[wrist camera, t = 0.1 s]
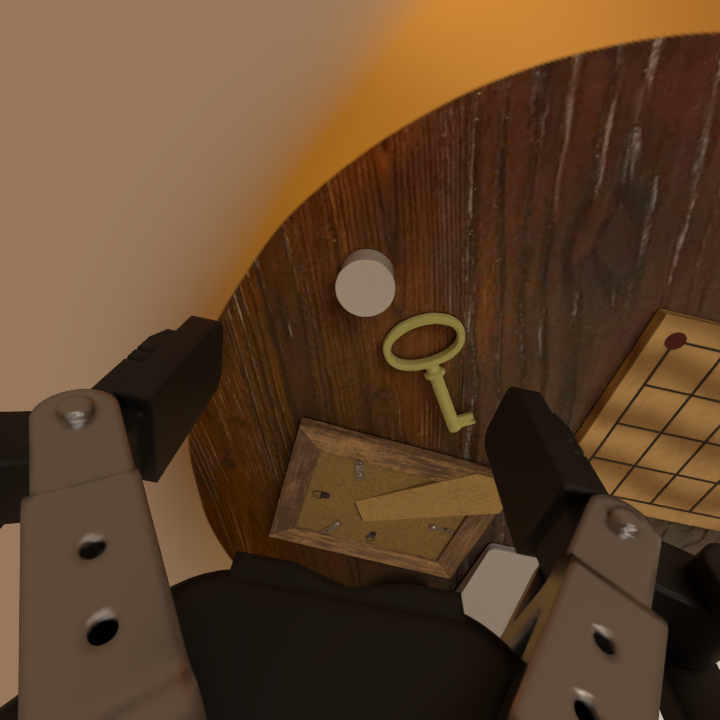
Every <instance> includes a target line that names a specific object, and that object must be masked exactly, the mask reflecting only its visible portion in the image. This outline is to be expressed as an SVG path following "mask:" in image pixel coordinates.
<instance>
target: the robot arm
mask: <svg viewBox="0 0 720 720" xmlns="http://www.w3.org/2000/svg"><path fill="white" fill-rule="evenodd" d="M222 345H223V325H222V323H221V322H219V321H215V320H210V319H205V318H201V317H197V316H191V317H190V318H189V319H188V320H187V321H185V322H184V323H183V324H182V325H181V326H180V327H179V328H178V329H177V330H176V331H174V330H170V329H167V330H164V331H162V332H159V333H157V334H154V335H152V336H150V337H148V338H147V339H146V340H145V341H144V342H143V343H142V344H141V345H139V346H138V348H137V350H134V351H133V352H132V353H131V354H130V355H128V357H127V359H124V360H123V361H122V362H121V363H120V364H118V365H117V366H116V367H115V368H114V369H113V370H112V371H110V372H109V373H108V374H107V375H106V376H105V377H104V378H102V379H101V380H100V381H99V382H98V383H97V384H96V385H95V386H94V387H92V388H91V389H77V390H71V391H66V392H62V393H59V394H56V395H53V396H51V397H49V398H47V399H45V400H43V401H42V402H41V403H39V404H38V405H37V406H36V407H35V408H34V409H33V410H32V411H24V412H22V411H21V412H0V528H1V527H2V526H3V525H4V524H12V523H20V525H21V526H20V603H19V604H20V606H19V608H20V609H19V688H18V690H19V691H18V695H17V696H16V697H14V698H13V699H12V700H10V701H9V702H7V703H6V704H5V705H3V706H2V707H0V720H658V718H659V710H660V712H661V714H662V716H663V719H664V720H720V670H719V668H718V666H717V664H716V663H717V662H718V661H720V544H718V543H710V544H708V545H706V546H705V547H704V548H703V549H702V550H701V551H700V552H699V553H697V554H696V555H695V556H694V555H692V554H690V553H688V552H685V551H683V550H681V549H679V548H677V547H674V546H672V545H670V544H668V543H665V542H663V541H661V539H660V536H659V534H658V532H657V530H656V529H655V527H654V526H653V525H652V523H651V522H650V521H649V520H648V519H647V518H646V517H645V516H644V515H643V514H642V513H641V512H640V511H638V510H637V509H636V508H634V507H633V506H631V505H630V504H628V503H627V502H625V501H623V500H621V499H619V498H616V497H614V496H610V495H609V494H608V492H607V490H606V489H605V487H604V485H603V484H602V482H601V480H600V479H599V477H598V475H597V474H596V472H595V470H594V469H593V467H592V465H591V463H590V462H589V460H588V458H587V457H585V456H584V454H585V453H584V452H583V450H582V448H581V447H580V445H578V444H577V440H576V438H575V437H574V435H573V433H572V432H571V430H570V428H569V427H568V426H567V425H566V424H565V423H564V422H563V421H562V420H561V419H560V418H559V417H558V416H556V415H555V414H554V413H552V412H551V410H550V409H549V407H548V405H547V403H546V402H545V400H544V398H543V396H542V395H541V394H540V393H539V392H535V391H531V390H526V389H522V388H517V387H510V388H509V389H508V390H507V391H506V393H505V395H504V397H503V399H502V401H501V403H500V405H499V407H498V409H497V411H496V413H495V415H494V417H493V419H492V421H491V423H490V425H489V427H488V429H487V432H486V436H485V450H486V454H487V457H488V460H489V464H490V467H491V470H492V474H493V477H494V481H495V484H496V487H497V491H498V494H499V497H500V501H501V504H502V507H503V511H504V514H505V517H506V521H507V524H508V527H509V531H510V534H511V537H512V541H513V544H514V547H515V551H516V554H520V555H525V556H530V557H535V558H537V560H538V563H539V566H538V567H537V568H536V569H535V571H534V572H533V574H532V576H531V578H530V580H529V582H528V584H527V586H526V588H525V590H524V592H523V594H522V596H521V598H520V600H519V602H518V604H517V606H516V608H515V610H514V612H513V614H512V616H511V618H510V620H509V622H508V624H507V626H506V628H505V630H504V632H503V633H502V635H501V637H500V638H499V637H498V636H497V635H496V634H495V633H494V632H492V631H491V630H490V629H488V628H487V627H486V626H484V625H483V624H482V623H480V622H478V621H477V620H475V619H473V618H472V617H470V616H468V615H466V614H464V609H463V602H462V596H461V593H459V592H454V591H448V590H443V589H438V588H432V587H427V586H421V585H416V584H411V583H400V584H389V585H377V586H366V587H347V586H344V585H342V584H340V583H338V582H336V581H334V580H331V579H329V578H327V577H325V576H323V575H321V574H319V573H317V572H314V571H312V570H310V569H308V568H306V567H304V566H302V565H299V564H297V563H295V562H293V561H287V560H282V559H277V558H271V557H266V556H261V555H255V554H250V553H245V552H239V551H237V552H236V555H235V557H234V560H233V563H232V566H231V569H230V570H219V571H214V572H210V573H205V574H201V575H198V576H195V577H192V578H189V579H187V580H185V581H182V582H180V583H178V584H175V585H173V586H171V587H170V586H169V582H168V578H167V574H166V570H165V566H164V563H163V558H162V555H161V551H160V547H159V543H158V539H157V535H156V532H155V528H154V524H153V520H152V516H151V512H150V508H149V504H148V501H147V497H146V493H145V489H144V485H143V481H142V480H146V481H151V482H158V480H159V479H160V477H161V476H162V474H163V473H164V471H165V469H166V468H167V466H168V465H169V463H170V462H171V460H172V458H173V457H174V455H175V454H176V452H177V451H178V449H179V448H180V446H181V445H182V443H183V441H184V440H185V438H186V437H187V435H188V434H189V432H190V431H191V429H192V427H193V426H194V424H195V423H196V421H197V420H198V418H199V417H200V415H201V413H202V412H203V410H204V409H205V407H206V406H207V404H208V403H209V401H210V399H211V398H212V396H213V395H214V393H215V392H216V389H217V387H218V384H219V381H220V377H221V368H222Z"/></svg>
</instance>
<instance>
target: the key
mask: <svg viewBox="0 0 720 720" xmlns="http://www.w3.org/2000/svg"><path fill="white" fill-rule="evenodd" d="M429 324H444V325H449V326H451V327H453V328H454V329H455V330H456V334H457V337H456V339H455V341H454V342H453V343H452V344H451V345H450V346H449V347H448V348H446V349H445V350H443V351H441V352H439V353H437V354H434V355H431V356H429V357H425V358H421V359H415V360H406V359H400V358H397V357H396V356H394V355H393V353H392V352H391V347H392V344H393V343H394V342H395V341H396V340H397V339H398V338H399V337H400V336H401V335H403V334H404V333H406V332H408V331H410V330H412V329H414V328H417V327H420V326H423V325H429ZM464 341H465V330H464V327H463V325H462V323H461V322H460V321H459V320H458V319H457V318H455V317H454V316H451V315H448V314H443V313H426V314H421V315H418V316H414V317H411V318H409V319H407V320H405V321H403V322H401V323H399V324H398V325H396V326H395V327H394V328H393V329H392V330H391V331H390V332H389V333H388V334H387V336H386V337H385V339H384V342H383V349H382V350H383V353H384V356H385V358H386V360H387V362H388V363H389V364H390V365H391V366H393V367H394V368H397V369H399V370H405V371H417V370H422V369H426V372H425V373H424V377H425V379H427V380H430V381H431V384H432V387H433V389H434V392H435V395H436V397H437V400H438V403H439V405H440V408H441V411H442V414H443V416H444V419H445V422H446V424H447V427H448V430H449V431H450V432H457V431H459V430H460V429H461V427H464V426H467V425H471V424H475V420H474V419H472V418H474V417H473V414H472V412H469V413H465V414H461V415H458V416H457V415H456V412H455V409H454V407H453V404H452V401H451V398H450V395H449V393H448V390H447V387H446V384H445V381H444V379H443V375H444V374H445V369H444V368H443V367H441V366H439V364H441V363H444V362H446V361H448V360H449V359H451V358H452V357H454V356H455V355H456V354H457V353H458V352H459V351H460V350H461V348H462V347H463V344H464Z"/></svg>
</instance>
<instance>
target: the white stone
mask: <svg viewBox="0 0 720 720" xmlns="http://www.w3.org/2000/svg"><path fill="white" fill-rule="evenodd" d="M335 291H336V296H337V298H338V301H339V302H340V304H341V305H342V306H343V307H344V308H345V309H346V310H347V311H348V312H350V313H352V314H354V315H357V316H362V317H369V316H374V315H377V314H379V313H381V312H383V311H384V310H386V309H387V308H388V307H389V305H390V304H391V303H392V301H393V298H394V295H395V272H394V268H393V266H392V264H391V262H390V260H389V259H388V258H387V257H386V256H385V255H384V254H382V253H380V252H378V251H376V250H371V249H362V250H358V251H355V252H353V253H351V254H350V255H349V256H348V257H347V258H346V259H345V260H344V261H343V263H342V265H341V267H340V270H339V273H338V277H337V280H336V285H335Z"/></svg>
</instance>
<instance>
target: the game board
mask: <svg viewBox="0 0 720 720" xmlns="http://www.w3.org/2000/svg"><path fill="white" fill-rule="evenodd" d="M574 437H575V438H576V440H577V444H578V445H580V447H581V448H582V450H583V452H584V453H585V454H584V456H585V457H587V458H588V460H589V462H590V463H591V465H592V467H593V469H594V470H595V472H596V474H597V475H598V477H599V479H600V480H601V482H602V484H603V485H604V487H605V489H606V490H607V492H608V494H609V495H610V496H614V497H616V498H619V499H621V500H623V501H625V502H627V503H628V504H630V505H631V506H633V507H634V508H636V509H637V510H638V511H640V512H641V513H642V514H643V515H644V516H647V517H652V518H657V519H662V520H667V521H671V522H676V523H681V524H686V525H691V526H696V527H701V528H706V529H711V530H716V531H720V323H719V322H715V321H711V320H706V319H702V318H698V317H694V316H690V315H685V314H681V313H677V312H673V311H668V310H664V309H658V310H657V312H656V313H655V315H654V317H653V318H652V320H651V321H650V323H649V324H648V326H647V327H646V329H645V330H644V332H643V333H642V335H641V336H640V338H639V339H638V341H637V342H636V344H635V345H634V347H633V348H632V350H631V351H630V353H629V354H628V356H627V358H626V359H625V361H624V362H623V364H622V365H621V367H620V368H619V370H618V371H617V373H616V374H615V376H614V377H613V379H612V380H611V382H610V383H609V385H608V386H607V388H606V389H605V391H604V392H603V394H602V395H601V397H600V399H599V400H598V402H597V403H596V405H595V406H594V408H593V409H592V411H591V412H590V414H589V415H588V417H587V418H586V420H585V421H584V423H583V424H582V426H581V427H580V429H579V430H578V432H577V433H576V435H575V436H574Z"/></svg>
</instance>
